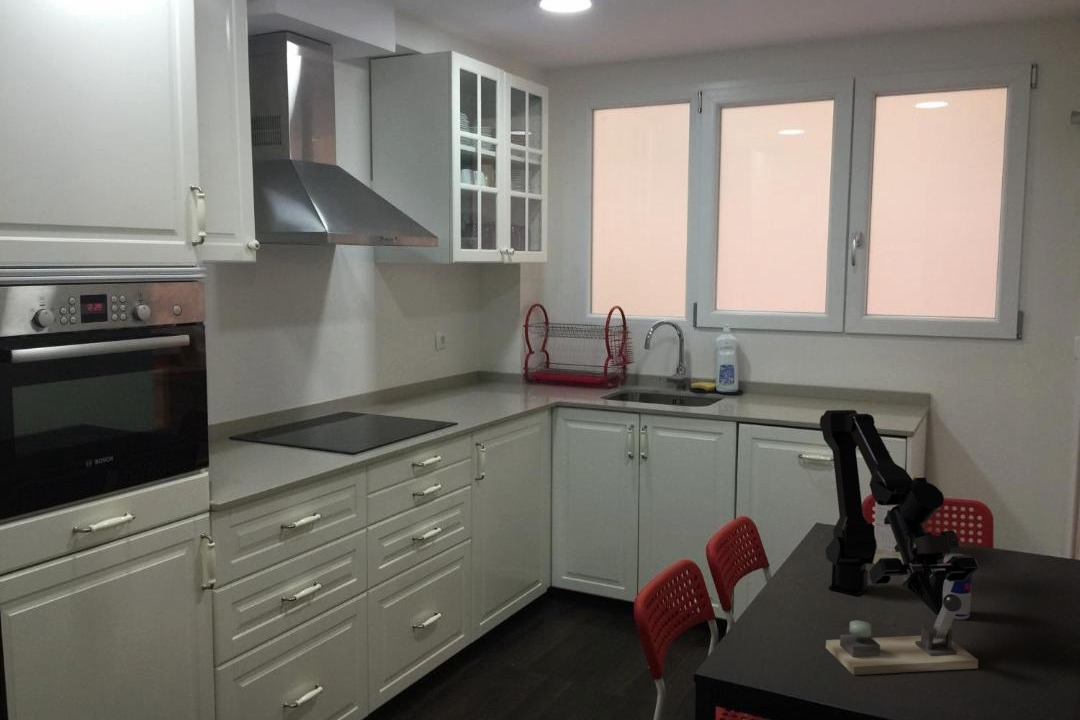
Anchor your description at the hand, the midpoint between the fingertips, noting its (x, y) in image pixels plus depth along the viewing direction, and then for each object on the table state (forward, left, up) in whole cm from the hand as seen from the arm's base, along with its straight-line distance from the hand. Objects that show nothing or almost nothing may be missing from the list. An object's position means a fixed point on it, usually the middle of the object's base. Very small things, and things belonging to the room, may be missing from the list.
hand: (939, 613), depth 162 cm
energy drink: (-3, +24, -9) cm, 25 cm away
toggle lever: (-1, +1, -6) cm, 6 cm away
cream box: (-25, +52, -9) cm, 58 cm away
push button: (-11, -9, -3) cm, 15 cm away
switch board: (-5, -4, -8) cm, 11 cm away
